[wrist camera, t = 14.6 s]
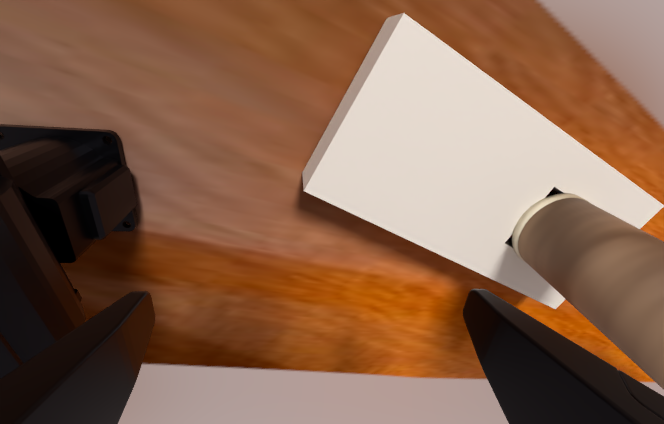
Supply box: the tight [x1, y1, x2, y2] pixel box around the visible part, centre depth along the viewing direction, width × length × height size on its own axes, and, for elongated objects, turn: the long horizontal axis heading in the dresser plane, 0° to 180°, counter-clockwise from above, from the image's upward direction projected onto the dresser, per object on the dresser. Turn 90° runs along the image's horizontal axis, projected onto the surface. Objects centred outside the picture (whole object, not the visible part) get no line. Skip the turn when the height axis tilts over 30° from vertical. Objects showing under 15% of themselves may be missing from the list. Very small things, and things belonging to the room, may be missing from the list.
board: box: [302, 13, 664, 309], centre depth 21 cm, size 22×10×3 cm, turn 60°
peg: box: [512, 193, 664, 389], centre depth 18 cm, size 5×5×13 cm
